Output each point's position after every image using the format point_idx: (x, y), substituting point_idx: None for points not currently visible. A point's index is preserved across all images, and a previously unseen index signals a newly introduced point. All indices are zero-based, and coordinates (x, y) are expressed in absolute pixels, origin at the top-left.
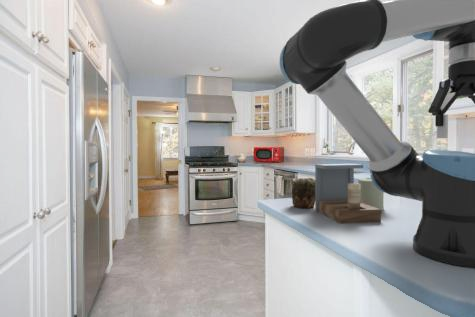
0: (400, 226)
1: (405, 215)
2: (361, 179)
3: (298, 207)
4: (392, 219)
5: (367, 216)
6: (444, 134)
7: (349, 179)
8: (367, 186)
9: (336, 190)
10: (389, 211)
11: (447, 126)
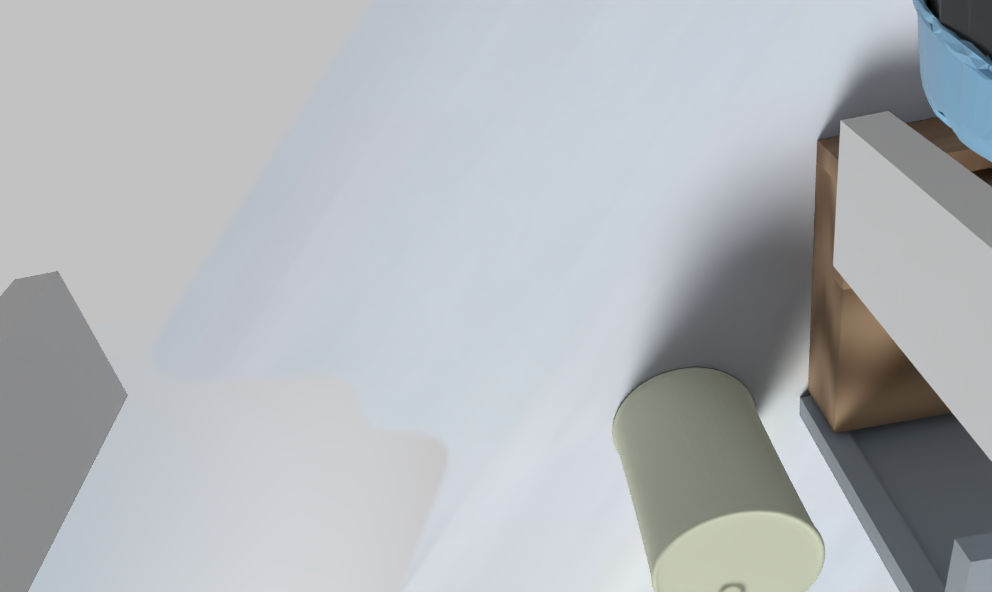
0: (769, 36)
1: (574, 284)
2: (786, 588)
3: None
4: (713, 192)
5: (926, 136)
6: (921, 144)
7: (915, 546)
8: (786, 490)
9: (970, 474)
10: (612, 366)
11: (956, 208)
